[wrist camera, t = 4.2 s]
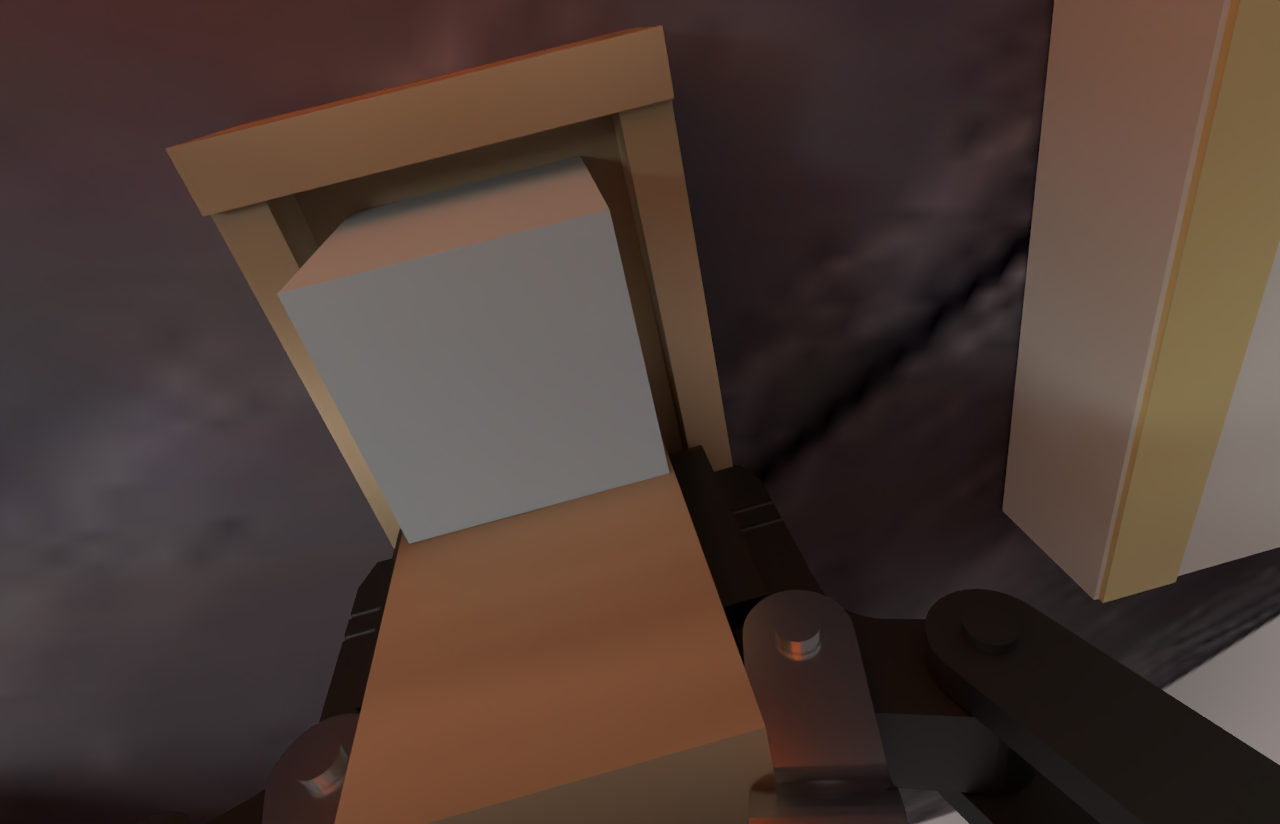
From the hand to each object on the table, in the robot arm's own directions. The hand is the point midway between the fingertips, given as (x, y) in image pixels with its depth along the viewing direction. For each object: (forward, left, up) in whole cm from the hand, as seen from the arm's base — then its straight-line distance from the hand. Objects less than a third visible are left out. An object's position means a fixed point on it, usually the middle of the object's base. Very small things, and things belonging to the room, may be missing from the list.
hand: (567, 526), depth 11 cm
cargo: (-4, 0, -1) cm, 4 cm away
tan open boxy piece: (0, 0, -3) cm, 3 cm away
